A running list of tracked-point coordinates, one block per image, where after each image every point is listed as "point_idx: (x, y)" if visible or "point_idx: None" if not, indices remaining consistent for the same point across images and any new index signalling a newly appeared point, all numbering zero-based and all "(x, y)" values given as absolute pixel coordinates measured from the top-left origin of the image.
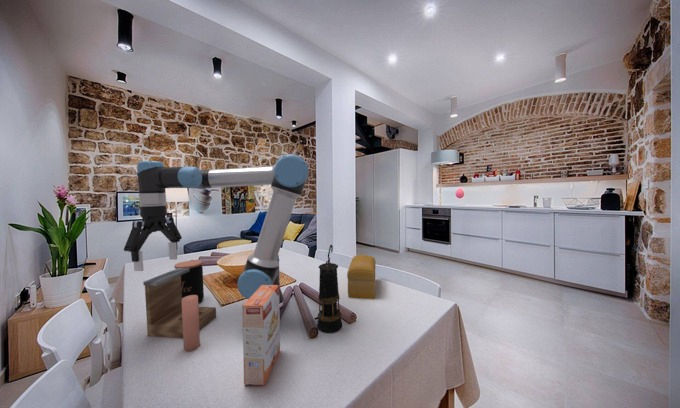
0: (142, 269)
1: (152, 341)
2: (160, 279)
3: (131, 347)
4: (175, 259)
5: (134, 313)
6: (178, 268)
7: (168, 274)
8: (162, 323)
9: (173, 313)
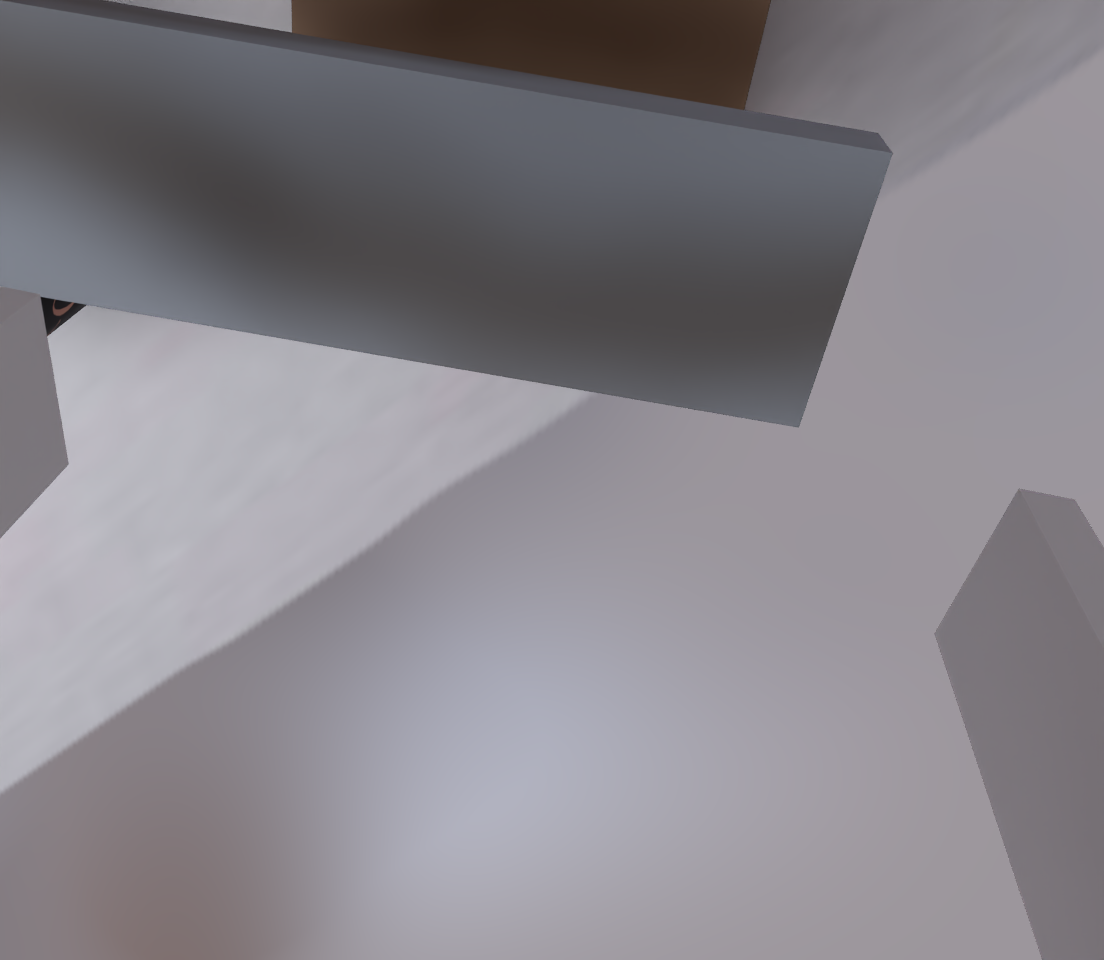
0: (1056, 513)
1: (834, 17)
2: (712, 186)
3: (897, 158)
4: (39, 303)
5: (333, 525)
6: (11, 267)
7: (396, 226)
8: (728, 4)
9: (488, 35)
